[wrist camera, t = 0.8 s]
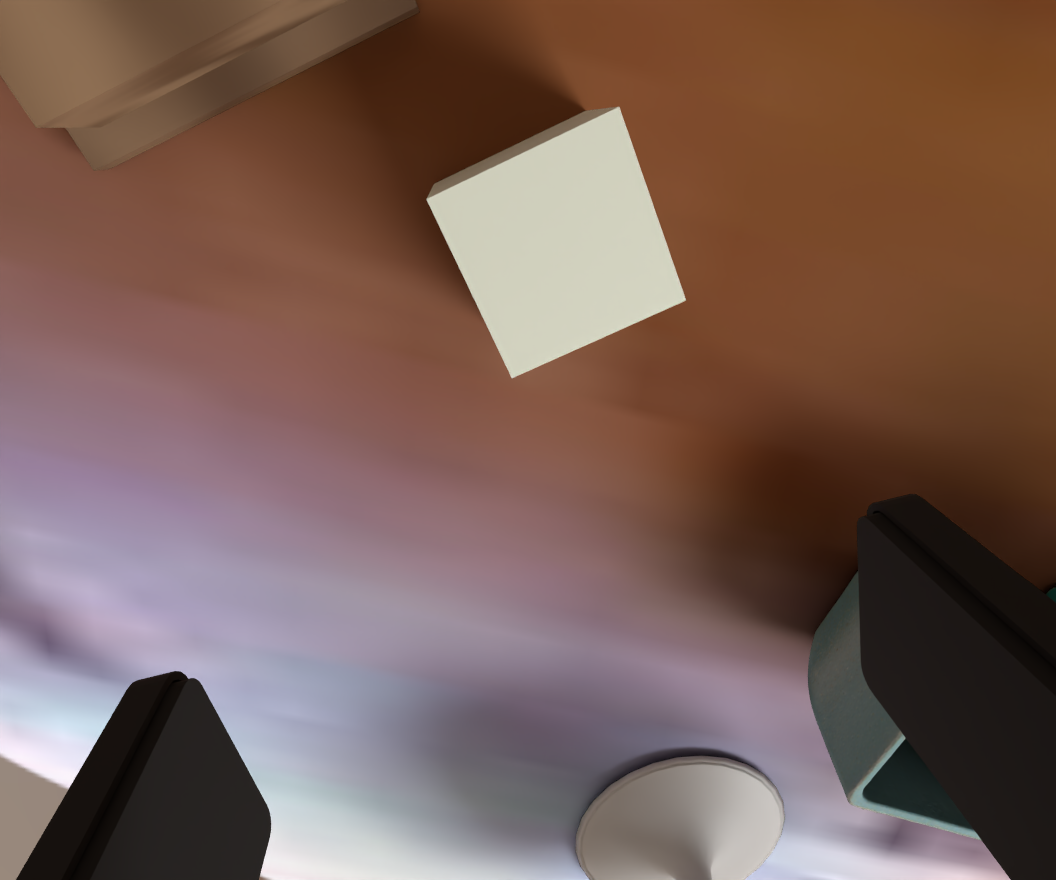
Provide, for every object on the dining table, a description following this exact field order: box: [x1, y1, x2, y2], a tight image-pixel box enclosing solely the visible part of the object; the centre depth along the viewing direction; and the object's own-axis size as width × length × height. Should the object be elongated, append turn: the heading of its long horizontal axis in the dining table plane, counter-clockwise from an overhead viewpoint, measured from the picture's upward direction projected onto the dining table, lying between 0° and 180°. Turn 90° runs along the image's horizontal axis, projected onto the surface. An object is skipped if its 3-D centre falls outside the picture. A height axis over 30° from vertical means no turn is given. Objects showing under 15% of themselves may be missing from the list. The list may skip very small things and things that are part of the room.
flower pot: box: [808, 571, 982, 841], centre depth 31 cm, size 9×9×9 cm
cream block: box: [426, 107, 686, 378], centre depth 24 cm, size 6×6×6 cm
